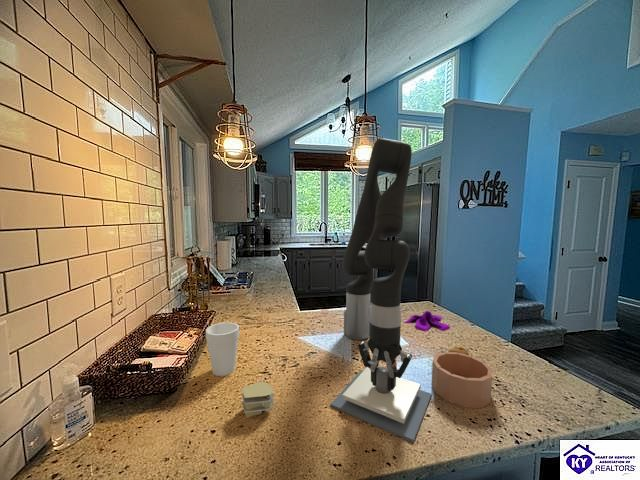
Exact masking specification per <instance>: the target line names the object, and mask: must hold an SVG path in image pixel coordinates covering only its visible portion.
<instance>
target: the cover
mask: <svg viewBox="0 0 640 480" xmlns="http://www.w3.org/2000/svg"><path fill="white" fill-rule="evenodd" d="M362 371H363V372H362V373H361V374H360V375H359V377H358V378H357V379H356V380H355V381H354V382H353V383H352V384H351V386H350V387H349V388H348V389H347V390H346V391H345V392H344V393H343V395H342V399H345V400H347V401H350V402H352V403H354V404H357V405H359V406H362V407H364V408H367V409H369V410H372V411H374V412H376V413H379V414H381V415H384V416H386V417H389V418H391V419H394V420H396V421H398V422H401V423H403V424H404V422H405V420H406V418H407V416H408V414H409V412H410V409H411V407H412V405H413V403H414V401H415V399H416V396H417V394H418V392H419V390H421V386H422V385H421V383H418V382H415V381H412V380H408V379H405V378H403V377H401V378H398V377H396V386H395V388H394V389H393V390H392V391H391V392H390V391H388V377H389V372H388V368H387V366H378V367H377V369H376V386H374V385H373V383H372V382H371V370H370V368H368V367H365V369H364V370H362Z"/></svg>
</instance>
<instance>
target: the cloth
mask: <svg viewBox="0 0 640 480" xmlns="http://www.w3.org/2000/svg"><path fill="white" fill-rule="evenodd" d="M442 320H443V317H442V316H440V315H437V314H436V315H435V314H432V312H431V311H428V310H425V312H423V314H421V315H419V314H414V315H411V316H410V317H409V318H408V319H407V320H406V321H405V323H406V324H411V323H413V322H415V325H414V329H417V330H420V331H421V332H422V331H423V332H428V330H430V329H431V326H432V327H435V328H437V329H438V330H439V331H441V332H443V331H446V330H448V329H450V328H451V326H450V325H448V324H446V323H443V322H441V321H442Z"/></svg>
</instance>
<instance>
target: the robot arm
mask: <svg viewBox="0 0 640 480" xmlns="http://www.w3.org/2000/svg"><path fill="white" fill-rule="evenodd" d="M411 162H412V147H411V145H410V144H409V143H408V142H404V141H401V140H395V139H390V138H384V137H383V138H382V137H380V138H377V139H376V141H374V144H373V145H372V149H371V154H370V158H369V162H368V168H367V173H366V178H365V183H364V186H363V187H364V188H363V190H362V194H361V197H360V201H359V204H358V207H357V212H356V215H355V220H354V224H353V227H352V231H351V235H350V238H349V240H348V244H347V246H346V249H345V251H344V253H343V258H342V263H341V264H342V265H341V266H342V271H343V273H344V274H345V275H346V276H347V275H348V276H358V277H357V278H356V279H354V280H353V281H351V282H349V283H347V284H346V287H345V288H346V292H345V293H346V295H345V297H346V298H345V299H346V301H345V302H346V304H345V305H346V306H345V310H344V311H343V336H345V337H347V338H349V339H352V340H357V341H358V340H359V341H360V340H361V342H360V343H358V344H357V348H358V349H357V350H358V352H359V355H360V358H361V361H362V364H363V367H365V368H366V367H368V368H370V370H371V382H372V383H373V385H374V386H376V369H377V368H378V367H379V365H380V362H384V363H385V364H386V367H387V368H388V372H389V377H388V391H390V392H391V391H392V390H393V389H394V388H395V386H396V377H398V378H403V375H404V373H405V372H406V369H407V368H408V366H409V364H410V362H411V360H412V358H413V354H412V353H410V352H409V353H407V352H405V351H404V350H403V348H402V345H401V327H402V326H401V325H402V310H401V309H402V308H401V300H402V299H401V298H402V297H401V295H402V294H401V293H402V282H403V279H404V275H405V272H406V269H407V266H408V263H409V261H410V256H411V250H410V247H409V245H408V243H406V242H405V241H404V240H396V239H395V240H393V239H392V240H389V239H388V238H394V237H397V236H399V235H400V234H401V233H402V231H403V229H404V228H403V227H404V225H403V224H404V203H405V196H406V192H407V191H406V190H407V185H408V180H409V174H410V168H411ZM379 172H381V173H388V174H393V175H396V176H395V179H394V181H393V182H392V183H391V185H390V186H389V187H388V188H387V189H386V190H385V191H384V192H383V193H381V190H380V186H379V181H378V179H379V178H378V176H379ZM365 245H366V246H365ZM364 246H365V250H362V248H363V247H364ZM374 269H375V270H376V269H377V270H392V271H393V272H392V273H391V274H390V275H388V276H383V277H377V278H374V279H373V272H374ZM366 339H368V341H366ZM369 350H370V352H371V354H372V358H371V355H370V352H369ZM398 356H399V357H400V362H402V363H401V365H400V366H399V368H398V369H397V358H398Z"/></svg>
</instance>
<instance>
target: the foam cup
mask: <svg viewBox="0 0 640 480" xmlns="http://www.w3.org/2000/svg"><path fill="white" fill-rule="evenodd" d="M205 329H206V330H205V340H206V341H207V342H206V343H207V349H208V353H209V354H208V355H209V359H210V366H211V371H212V374H213V375H214V376H217V377H224V376H225V377H226V376H229V375H230V374H232V373H233V372H234V371H235V367H236V361H237V353H238V352H237V351H238V346H239V345H238V344H239V336H240V325H239V324H237V323H235V322H220V323H219V322H218V323H215V324H212V325H209V326H208V327H206V328H205Z"/></svg>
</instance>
